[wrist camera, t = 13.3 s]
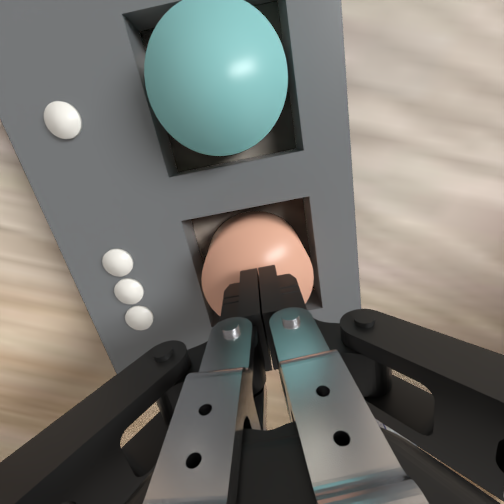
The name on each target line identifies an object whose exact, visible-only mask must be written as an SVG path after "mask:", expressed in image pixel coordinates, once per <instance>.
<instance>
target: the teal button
mask: <svg viewBox="0 0 504 504" xmlns="http://www.w3.org/2000/svg"><path fill="white" fill-rule="evenodd" d="M144 77H145V86H146V90H147V95H148V98H149V101H150V104H151V107H152V109H153V111H154V113H155V115H156V117H157V118H158V120H159V121H160V123H161V124H162V126H163V127H164V128H165V129H166V131H167V132H168V133H169V134H170V135H171V136H172V137H173V138H174V139H176V140H177V141H178V142H180V143H181V144H182V145H184V146H186V147H187V148H189V149H191V150H194V151H196V152H199V153H202V154H206V155H212V156H226V155H233V154H236V153H240V152H242V151H245V150H247V149H249V148H251V147H252V146H254V145H256V144H257V143H258V142H259V141H261V140H262V139H263V138H264V137H265V136H266V135H267V134H268V133H269V132H270V130H271V129H272V128H273V126H274V125H275V123H276V121H277V120H278V118H279V116H280V114H281V111H282V109H283V106H284V102H285V99H286V94H287V87H288V70H287V62H286V57H285V53H284V50H283V47H282V44H281V42H280V39H279V37H278V35H277V33H276V31H275V30H274V28H273V27H272V25H271V24H270V22H269V21H268V20H267V19H266V17H265V16H264V15H263V14H262V13H261V12H260V11H259V10H258V9H256V8H255V7H254V6H252V5H251V4H249V3H248V2H246V1H244V0H182V1H180V2H178V3H177V4H176V5H174V6H173V7H172V8H171V9H170V10H168V11H167V12H166V13H165V14H164V16H163V17H162V18H161V20H160V21H159V22H158V24H157V25H156V27H155V29H154V31H153V32H152V35H151V37H150V40H149V43H148V46H147V50H146V55H145V63H144Z"/></svg>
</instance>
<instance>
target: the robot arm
mask: <svg viewBox="0 0 504 504" xmlns="http://www.w3.org/2000/svg"><path fill="white" fill-rule="evenodd" d="M258 272H259V275H258ZM270 353H271V356H270ZM271 358H272V362H273V367H274V370H276V369H279V374H280V379H281V384H282V389H283V393H284V397H285V401H286V406H287V410H288V414H289V418H290V422H291V423H288V424H286V425H283V426H281V427H278V428H276V429H273V430H266V417H267V389H266V384H265V382H266V373H265V371H270V370H272V365H271ZM392 369H393V370H395V371H397V372H399V373H401V374H403V375H406V376H408V377H410V378H412V379H414V380H416V381H418V382H420V383H422V384H423V385H424V386H426V387H427V388H428V389H429V390H430V392H431V393H432V394H430V393H428V392H426V391H424V390H422V389H420V388H418V387H416V386H414V385H412V384H410V383H408V382H406V381H404V380H402V379H400V378H398V377H396V376H394V375H392ZM155 402H157V405H158V407H159V410H160V412H159V413H158V414H157V415H156V416H155V417H154V418H153V419H152V420H151V421H149V422H148V423H147V424H146V425H145V426H144V427H143V428H142V429H141V430H140V431H139V432H138V433H137V434H136V435H135V436H134V437H133V438H132V439H131V440H130V441H129V442H128V443H126V444H125V445H124V446H123V447H122V448H121V447H120V440H121V437H122V435H123V433H124V431H125V430H126V429H127V427H128V426H130V425H131V424H132V423H133V422H134V421H135V420H136V419H137V418H138V417H139V416H140V415H142V414H143V413H144V412H145V411H146V410H147V409H148V408H149V407H150V406H151V405H152V404H153V403H155ZM375 419H376V420H378V421H380V422H381V423H383V424H384V425H386V426H387V427H389V428H390V429H392V430H394V431H395V432H397V433H398V434H400V435H401V436H403V437H404V438H403V437H401V436H399V435H397V434H396V433H394V432H391V431H389V430H387V429H384V428H381V427H379V425H378V423H377V422H376V420H375ZM405 438H406V439H408V440H409V441H408V440H406V439H405ZM410 441H411V442H412V443H411V442H410ZM413 443H414V444H415V445H417V446H418V447H420V448H422V449H423V450H425V451H426V452H428V453H429V454H431V455H432V456H434V457H436V458H437V459H439V460H440V461H442V462H443V463H445V464H446V465H448V466H449V467H451V468H453V469H454V470H456V471H457V472H459V473H460V474H462V475H463V476H465V477H467V478H468V479H470V480H471V481H473V482H474V483H476V484H477V485H479V486H481V487H482V488H484V489H485V490H487V491H488V492H490V493H491V494H493V495H495V496H496V497H498V498H499V499H501V500H502V501H504V355H502V354H499V353H496V352H493V351H490V350H487V349H484V348H482V347H479V346H476V345H473V344H470V343H467V342H464V341H461V340H459V339H456V338H453V337H450V336H447V335H444V334H441V333H439V332H436V331H433V330H430V329H427V328H424V327H421V326H418V325H416V324H413V323H410V322H407V321H404V320H401V319H398V318H396V317H393V316H390V315H387V314H384V313H381V312H378V311H375V310H371V309H356V310H352V311H349V312H347V313H345V314H344V315H343V316H342V317H341V319H340V323H328V322H322V321H319V320H316V319H314V318H313V316H312V314H311V313H310V312H309V311H308V310H307V308H306V305H305V302H304V299H303V296H302V294H301V291H300V288H299V285H298V282H297V279H296V278H295V277H294V276H292V275H291V274H283V275H278V276H277V272H276V268H275V265H270V266H264V267H259V268H258V270H257V268H253V269H248V270H242V271H240V282H239V283H233V284H229V286H228V287H227V288H226V289H225V290H224V295H223V302H222V309H221V316H220V322H219V323H217V324H216V325H215V326H214V327H213V328H212V330H211V332H210V335H209V338H208V341H207V342H205V343H203V344H201V345H198V346H196V347H193V348H191V349H188V350H187V348H186V345H185V344H184V343H183V342H181V341H177V340H171V341H166V342H163V343H160V344H158V345H156V346H154V347H153V348H151V349H150V350H149V351H147V352H146V353H145V354H143V355H142V356H141V357H139V358H138V359H137V360H135V361H134V362H133V363H131V364H130V365H129V366H127V367H126V368H125V369H123V370H122V371H121V372H120V373H118V374H117V375H116V376H114V377H113V378H112V379H110V380H109V381H108V382H106V383H105V384H104V385H102V386H101V387H100V388H98V389H97V390H96V391H94V392H93V393H92V394H90V395H89V396H88V397H86V398H85V399H84V400H82V401H81V402H80V403H79V404H77V405H76V406H75V407H73V408H72V409H71V410H69V411H68V412H67V413H65V414H64V415H63V416H61V417H60V418H59V419H57V420H56V421H55V422H53V423H52V424H51V425H49V426H48V427H47V428H45V429H44V430H43V431H41V432H40V433H39V434H38V435H36V436H35V437H34V438H32V439H31V440H30V441H28V442H27V443H26V444H24V445H23V446H22V447H20V448H19V449H18V450H16V451H15V452H14V453H12V454H11V455H10V456H8V457H7V458H6V459H4V460H3V461H2V462H0V504H500V503H499V502H497V501H496V500H494V499H493V498H492V497H490V496H489V495H487V494H486V493H484V492H483V491H481V490H480V489H478V488H477V487H475V486H474V485H473V484H471V483H470V482H468V481H467V480H465V479H464V478H462V477H461V476H459V475H458V474H456V473H455V472H454V471H452V470H451V469H449V468H448V467H446V466H445V465H443V464H442V463H440V462H439V461H437V460H436V459H435V458H433V457H432V456H430V455H429V454H427V453H426V452H424V451H423V450H421V449H420V448H418V447H417V446H415V445H414V444H413Z"/></svg>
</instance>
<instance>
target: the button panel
mask: <svg viewBox="0 0 504 504" xmlns="http://www.w3.org/2000/svg"><path fill="white" fill-rule="evenodd" d="M180 1H182V0H0V119H1V121H2V123H3V126H4V128H5V130H6V132H7V134H8V137H9V139H10V141H11V143H12V145H13V147H14V150H15V152H16V154H17V156H18V158H19V161H20V163H21V165H22V167H23V169H24V172H25V174H26V176H27V178H28V180H29V183H30V185H31V187H32V189H33V191H34V194H35V196H36V198H37V200H38V202H39V205H40V207H41V209H42V211H43V213H44V215H45V218H46V220H47V222H48V224H49V226H50V229H51V231H52V233H53V235H54V237H55V240H56V242H57V244H58V246H59V248H60V251H61V253H62V255H63V257H64V259H65V262H66V264H67V266H68V268H69V270H70V273H71V275H72V277H73V279H74V281H75V283H76V286H77V288H78V290H79V292H80V294H81V297H82V299H83V301H84V303H85V305H86V308H87V310H88V312H89V314H90V316H91V319H92V321H93V323H94V325H95V327H96V330H97V332H98V334H99V336H100V338H101V341H102V343H103V345H104V347H105V349H106V351H107V354H108V356H109V358H110V360H111V362H112V365H113V367H114V369H115V371H116V373H117V374H118V373H120V372H121V371H122V370H123V369H125V368H126V367H127V366H129V365H130V364H131V363H133V362H134V361H135V360H137V359H138V358H139V357H141V356H142V355H143V354H145V353H146V352H147V351H149V350H150V349H151V348H153V347H154V346H156V345H158V344H160V343H163V342H166V341H171V340H177V341H181V342H183V343H184V344H185V345H186V348H187V350H188V349H191V348H193V347H196V346H198V345H201V344H203V343H205V342H207V341H208V338H209V335H210V332H211V330H212V328H213V327H214V326H215V325H216V324H217V323H219V322H220V316H219V315H218V314H217V313H216V312H215V311H214V310H213V309H212V308H211V306H210V305H209V304H208V302H207V300H206V298H205V295H204V292H203V288H202V279H201V278H202V270H203V262H202V258H201V255H200V251H199V247H198V244H197V240H196V236H195V233H194V229H193V225H192V222H191V219H194V218H199V217H204V216H209V215H215V214H220V213H225V212H230V211H235V210H241V209H246V208H251V207H256V206H261V205H266V204H272V203H277V202H282V201H287V200H292V199H298V198H303V204H304V212H305V219H306V227H307V235H308V243H309V251H310V258H311V264H312V268H313V275H314V280H313V282H314V290H312V291H311V294H310V296H309V298H308V300H307V302H306V304H305V305H306V308H307V310H308V311H309V312H310V313H311V314H312V316H313V318H314V319H316V320H319V321H322V322H328V323H340V319H341V317H342V316H343V315H344V314H345V313H347V312H349V311H352V310H356V309H361V298H360V283H359V268H358V252H357V237H356V222H355V206H354V191H353V176H352V160H351V145H350V130H349V114H348V99H347V84H346V68H345V53H344V38H343V22H342V7H341V0H277V1H278V9H279V17H280V24H281V32H282V40H283V48H284V53H285V57H286V62H287V70H288V87H289V95H290V102H291V110H292V118H293V126H294V134H295V141H296V149H292V150H287V151H282V152H277V153H272V154H267V155H262V156H257V157H252V158H247V159H242V160H237V161H232V162H227V163H222V164H217V165H212V166H207V167H202V168H197V169H192V170H187V171H182V172H178V170H177V167H176V163H175V159H174V156H173V152H172V148H171V145H170V141H169V137H168V134H167V131H166V129H165V128H164V127H163V126H162V124H161V123H160V121H159V120H158V118H157V117H156V115H155V113H154V111H153V109H152V107H151V104H150V101H149V98H148V95H147V90H146V86H145V77H144V63H145V55H146V53H145V49H144V46H143V42H142V38H141V35H140V31H143V30H147V29H152V28H155V27H156V25H157V24H158V22H159V21H160V20H161V18H162V17H163V16H164V14H165V13H166V12H167V11H168V10H170V9H171V8H172V7H173V6H174V5H176V4H177V3H178V2H180ZM244 1H246V2H248V3H249V4H251V5H252V6H254V5H259V4H263V3H268V2H272V1H276V0H244Z"/></svg>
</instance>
